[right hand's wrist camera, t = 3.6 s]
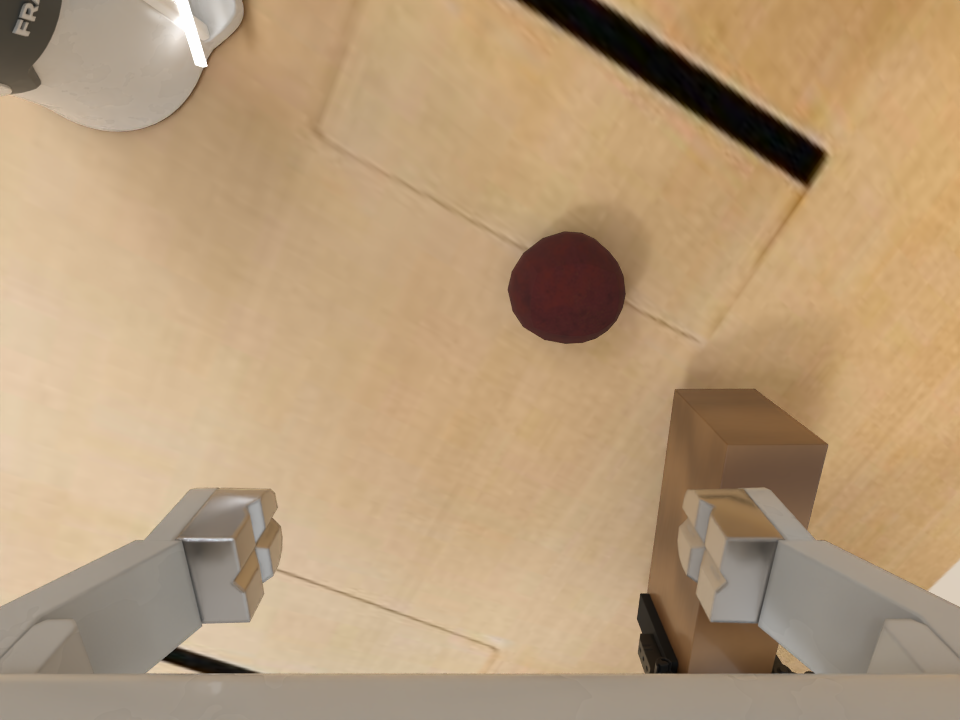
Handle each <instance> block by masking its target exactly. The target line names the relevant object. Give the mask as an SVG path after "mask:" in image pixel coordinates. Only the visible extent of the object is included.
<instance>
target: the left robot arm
mask: <svg viewBox="0 0 960 720" xmlns="http://www.w3.org/2000/svg"><path fill="white" fill-rule="evenodd" d="M637 620H638V623H639V626H640V628H641V631H642V634H640V640H639V648H638V655H639V657H640V660H641V663H642V666H643V669H644V672H645V674H677V668H678V660H677V658H676V655H675V653H674V651H673V648H672V646H671V644H670V641H669V639H668V636H667V634H666V632H665V629H664V627H663V625H662V622H661V620H660V618H659V615H658V613H657V611H656V608H655V606H654V604H653V601H652V599H651V596H650V594H640V600H639V608H638V616H637ZM771 674H797V673H794V672H791V670H790V669H789V668H788V667H787V666H785V665H783V664H782V663H781V661H780V659H779V658H778V656H777V655H776V656H775V660H774V664H773V668H772V672H771ZM804 674H815V673H814V672H811V671H807V672H805V673H804Z"/></svg>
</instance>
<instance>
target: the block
mask: <svg viewBox="0 0 960 720" xmlns="http://www.w3.org/2000/svg"><path fill="white" fill-rule="evenodd" d="M827 448H828V444H827V443H826V442H824V441H823V440H822V439H820V438H819V437H818V436H816V435H815V434H814V433H812V432H811V431H810V430H808V429H807V428H806V427H805V426H803V425H802V424H801V423H799V422H798V421H797V420H795V419H794V418H793V417H791V416H790V415H789V414H787V413H786V412H785V411H783V410H782V409H781V408H779V407H778V406H777V405H775V404H774V403H773V402H771V401H770V400H769V399H767V398H766V397H765V396H763V395H762V394H761V393H760V392H758V391H757V390H756V389H675V392H674V399H673V407H672V414H671V422H670V429H669V436H668V444H667V451H666V459H665V466H664V473H663V481H662V488H661V496H660V503H659V510H658V518H657V525H656V533H655V540H654V547H653V555H652V562H651V570H650V577H649V584H648V592H647V594H650V596H651V599H652V601H653V604H654V606H655V608H656V611H657V613H658V615H659V618H660V620H661V622H662V625H663V627H664V629H665V632H666V634H667V636H668V639H669V641H670V644H671V646H672V648H673V651H674V653H675V655H676V658H677V660H678V668H677V674H771V672H772V668H773V664H774V660H775V656H776V652H777V648H778V644H779V643H778V642H777V641H775V640H774V639H773V638H772V637H771V636H769V635H768V634H767V633H766V632H765V631H763V630H762V629H761V628H760V627H759V626H758V624H755V623H720V622H710V620H709V619H708V617H707V615H706V613H705V611H704V609H703V607H702V605H701V603H700V601H699V599H698V597H697V595H696V589H697V583H696V582H695V581H693V580H692V579H691V578H689V577H688V576H687V575H686V573H685V571H684V569H683V567H682V565H681V561H680V558H679V552H678V542H677V540H678V532H679V526H680V525H681V524H682V523H683V522H684V521H685V520H686V519H687V518H688V517H687V515H686V513H685V511H684V510H683V508H682V506H683V500H684V496H685V494H686V491H687V490H691V489H739V488H759V487H765V488H767V489H769V490H771V491H772V492H773V493H774V494H775V495H776V497H777V498H778V499H779V500H780V501H781V502H782V503H783V504H784V505H785V506H786V508H787V509H788V510H789V511H790V512H791V513H792V514H793V515H794V516H795V518H796V519H797V520H798V521H799V522H800V523H801V524H802V525H803V526H804V527H805V529H806V530H807V528H808V524H809V520H810V516H811V512H812V508H813V504H814V500H815V496H816V492H817V488H818V484H819V480H820V476H821V472H822V468H823V464H824V460H825V456H826V452H827Z"/></svg>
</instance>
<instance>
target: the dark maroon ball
mask: <svg viewBox="0 0 960 720" xmlns="http://www.w3.org/2000/svg"><path fill="white" fill-rule="evenodd" d="M508 293H509V297H510V301H511V305H512V310H513V312H514V314H515V315H516V317H517V318H518V320H519V321H520V323H521V324H522V326H523V327H524V328H526V329H528V330H529V331H531V332H532V333H534V334H536V335H537V336H539V337H541V338H542V339H544V340H548V341H554V342H559V343H565V344H568V343H583V342H586V341H589V340H592V339H595V338H597V337H599V336H600V335H602V334H603V333H605V332H606V331H608V329H609V328H610V327H611V326H612V325H613V324H614V323H615V322H616V320H617V318H618V316H619V314H620V312H621V310H622V308H623V304H624V299H625V286H624V278H623V274H622V271H621V269H620V267H619V265H618V262H617V261H616V260H615V259H614V257H613V256H612V255H611V254H610V252H609V251H608V250H607V249H605V248H604V247H603V246H602V245H601V244H600V243H599V242H598V241H596V240H595V239H594V238H592V237H590V236H587V235H585V234H583V233H577V232H561V233H558V234H555V235H551V236H548V237H545V238H543V239H541V240H540V241H539V242H537V243H536V244H535V245H533V246H532V247H531V248H529V249H528V250H527V251H526V252H524V253H523V255H522V256H521V258H520V259H519V261H518V263H517V264H516V266H515V267H514V269H513V271H512V273H511V278H510V282H509V286H508Z"/></svg>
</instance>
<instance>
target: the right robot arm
mask: <svg viewBox="0 0 960 720" xmlns="http://www.w3.org/2000/svg"><path fill="white" fill-rule="evenodd" d="M243 15H244V7H243V2H242V0H0V96H5V95H11V96H14V97H18V98H21V99H24V100H27V101H29V102H32V103H35V104H38V105H40V106H43V107H45V108H47V109H49V110H51V111H53V112H55V113H57V114H58V115H60V116H62V117H64V118H66V119H68V120H70V121H72V122H75V123H77V124H80V125H83V126H86V127H89V128H93V129H98V130H103V131H114V132H122V131H133V130H138V129H142V128H145V127H149V126H151V125H154V124H156V123H158V122H160V121H162V120H163V119H165V118H167V117H168V116H169V115H171V114H172V113H173V112H175V111H176V110H177V109H178V108H179V107H180V106H181V105H182V104H183V103H184V102H185V100H186V99H187V98H188V96H189V95H190V94H191V92H192V91H193V89H194V87H195V86H196V84H197V82H198V80H199V77H200V75H201V73H202V70H203V68H204V67H206V66H207V63H206V61H207V59H208V57H209V55H210V54H211V52H212V51H213V49H215V48H216V47H217V46H218V45H220V44H221V43H222V42H223V41H224V40H225V39H227V38H228V37H229V36H230V35H231V34H232V33H233V32H234V31H235V30H236V29H237V28H238V26H239V25H240V23H241V21H242V19H243ZM277 508H278V506H277V501H276V496H275V493H274V492H273V491H272V490H271V489H255V488H194V489H191V490H189V491H188V492H187V493H186V494H185V495H184V497H183V498H182V499H181V500H180V501H179V502H178V503H177V504H176V505H175V507H174V508H173V509H172V510H171V511H170V512H169V513H168V514H167V515H166V516H165V518H164V519H163V520H162V521H161V522H160V523H159V524H158V525H157V526H156V527H155V529H154V530H153V531H152V532H151V533H150V534H149V535H148V536H147V537H146V538H145V540H135V541H133V542H131V543H129V544H127V545H125V546H123V547H121V548H119V549H117V550H115V551H113V552H111V553H109V554H107V555H105V556H103V557H101V558H99V559H97V560H95V561H92V562H90V563H88V564H86V565H84V566H82V567H80V568H78V569H76V570H74V571H72V572H70V573H68V574H66V575H64V576H62V577H60V578H58V579H56V580H54V581H52V582H50V583H48V584H46V585H44V586H42V587H40V588H38V589H36V590H34V591H32V592H30V593H28V594H25V595H23V596H21V597H19V598H17V599H15V600H13V601H11V602H9V603H7V604H5V605H3V606H1V607H0V720H960V607H959V606H957V605H954V604H952V603H950V602H948V601H946V600H944V599H942V598H940V597H938V596H936V595H934V594H932V593H930V592H928V591H926V590H924V589H922V588H920V587H918V586H916V585H914V584H912V583H910V582H908V581H906V580H904V579H902V578H900V577H898V576H896V575H894V574H892V573H890V572H888V571H886V570H884V569H882V568H880V567H878V566H876V565H873V564H871V563H869V562H867V561H865V560H863V559H861V558H859V557H857V556H855V555H853V554H851V553H849V552H847V551H845V550H843V549H841V548H839V547H837V546H835V545H833V544H831V543H829V542H827V541H825V540H815V538H814V537H813V536H812V535H811V534H810V533H809V532H808V531H807V530H806V529H805V527H804V526H803V525H802V524H801V523H800V522H799V521H798V520H797V519H796V518H795V516H794V515H793V514H792V513H791V512H790V511H789V510H788V509H787V508H786V506H785V505H784V504H783V503H782V502H781V501H780V500H779V499H778V498H777V497H776V495H775V494H774V493H773V492H772V491H771V490H769V489H767V488H765V487H759V488H739V489H691V490H687V491H686V494H685V496H684V500H683V506H682V508H683V510H684V511H685V513H686V515H687V517H688V518H687V519H686V520H685V521H684V522H683V523H682V524H681V525H680V526H679V532H678V540H677V542H678V552H679V558H680V561H681V565H682V567H683V569H684V571H685V573H686V575H687V576H688V577H689V578H691V579H692V580H693V581H695V582H696V583H697V589H696V595H697V597H698V599H699V601H700V603H701V605H702V607H703V609H704V611H705V613H706V615H707V617H708V619H709V620H710V622H720V623H755V624H758V626H759V627H760V628H761V629H762V630H763V631H765V632H766V633H767V634H768V635H769V636H771V637H772V638H773V639H774V640H775V641H777V642H778V643H779V644H780V645H781V646H783V647H784V648H785V649H786V650H787V651H789V652H790V653H791V654H792V655H793V656H795V657H796V658H797V659H798V660H799V661H801V662H802V663H803V664H804V665H805V666H807V667H808V668H809V669H810V670H811V671H813V672H814V673H815V674H145V673H146V672H148V671H149V670H150V669H151V668H152V667H154V666H155V665H156V664H157V663H158V662H160V661H161V660H162V659H163V658H164V657H166V656H167V655H168V654H169V653H170V652H172V651H173V650H174V649H175V648H176V647H178V646H179V645H180V644H181V643H182V642H184V641H185V640H186V639H187V638H188V637H190V636H191V635H192V634H193V633H194V632H196V631H197V630H198V629H199V628H200V627H202V624H205V623H239V622H250V621H251V619H252V617H253V615H254V613H255V611H256V609H257V607H258V605H259V603H260V601H261V599H262V597H263V595H264V589H263V583H264V582H265V581H267V580H268V579H269V578H271V577H272V576H273V575H274V573H275V571H276V569H277V567H278V565H279V561H280V557H281V552H282V531H281V526H280V525H279V524H278V523H277V522H276V521H275V520H274V519H273V518H272V517H273V515H274V513H275V511H276V510H277Z"/></svg>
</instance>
